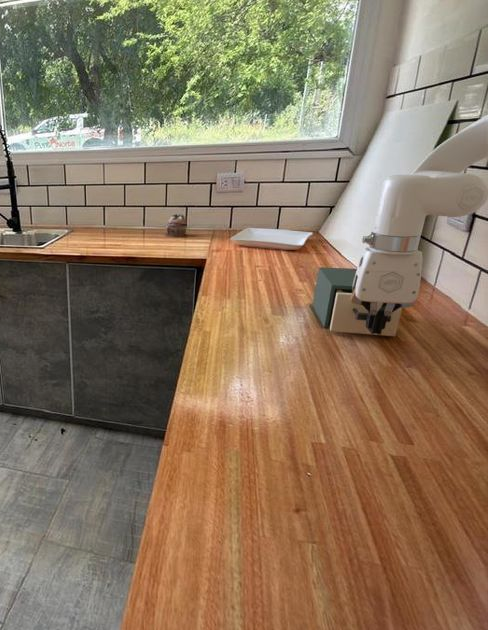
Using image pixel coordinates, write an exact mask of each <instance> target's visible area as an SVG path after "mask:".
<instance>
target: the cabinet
mask: <svg viewBox="0 0 488 630" xmlns="http://www.w3.org/2000/svg"><path fill="white" fill-rule="evenodd" d="M356 271H357V268H347V267H326V266H325V267H323V266H322V267H321V266H319V267H318V270H317V275H316V280H315V286H314V293H313V298H312V305H311V306H312V308H313V309H314V312H315V313H316V316H317V317H318V319H319V321H320V323H321V325H322V326H323V328H325V329H330V325H331V323H330V321H329V319H330V314H331V308H332V303H333V298H334V292H335V289H352V287H353V282H354V278H355V274H356Z"/></svg>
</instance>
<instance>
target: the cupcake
mask: <svg viewBox="0 0 488 630" xmlns="http://www.w3.org/2000/svg"><path fill="white" fill-rule="evenodd" d="M165 226H166V228H165V229H166V235H167V237H171V238H182V237H185V236H186V232H187V228H188V220H187V219H186V216H185V215H184V214H179V215H178V214H177V213H175V214H172V215H171V217H170V219H168V221H167V223H166V224H165Z"/></svg>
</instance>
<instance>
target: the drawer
mask: <svg viewBox="0 0 488 630" xmlns="http://www.w3.org/2000/svg"><path fill="white" fill-rule="evenodd" d="M352 293H353V291H352V289H335V292H334V298H333V303H332V308H331V314H330V319H329V321H330V323H331V325H330V328H329V331H330V332H336V333H347V334H348V333H349V334H363V335H372V334H371V333H370V331H369V330H368V328H366V320H367V316H368V311H367V309H366V308H365V307H364V306H362V305H358V304H354V303H352V302H351V301H350V297H351V295H352ZM381 305H382V303H381V302H378V311H379V309H380V307H381ZM402 310H403V308H399V309H397V310H395V311H394V312H392V313H391V315H390V316H388V317H387V321H386V325H385V329H382V332H381V334H377V333H375V334H373V335H375V336H387V337H396V335H397V331H398V327H399V323H400V319H401V315H402Z"/></svg>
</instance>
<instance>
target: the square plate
mask: <svg viewBox="0 0 488 630" xmlns="http://www.w3.org/2000/svg"><path fill="white" fill-rule="evenodd" d="M313 234H314V232H313V231H300V230H291V229H278V228H260V227H259V228H257V227H256V228H255V227H246V228H244V229H243V230H241V231H239V232H238V233H236V234H235V235H233V236H231V237H230V241H231V242H232V243H233V244H235V245H240V246H243V247H247V248H257V249H268V250H280V251H297V250H299V249H301V248H302V247H303V246H304V245H305V244H306V242H307V240H308V239H310V238H311V237H312V236H313Z"/></svg>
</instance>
